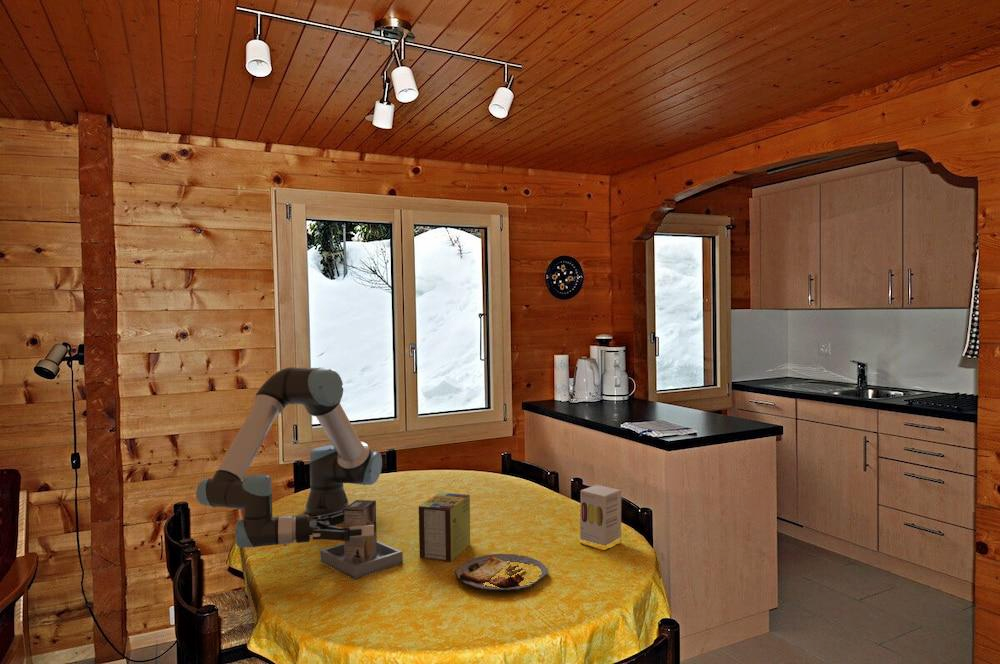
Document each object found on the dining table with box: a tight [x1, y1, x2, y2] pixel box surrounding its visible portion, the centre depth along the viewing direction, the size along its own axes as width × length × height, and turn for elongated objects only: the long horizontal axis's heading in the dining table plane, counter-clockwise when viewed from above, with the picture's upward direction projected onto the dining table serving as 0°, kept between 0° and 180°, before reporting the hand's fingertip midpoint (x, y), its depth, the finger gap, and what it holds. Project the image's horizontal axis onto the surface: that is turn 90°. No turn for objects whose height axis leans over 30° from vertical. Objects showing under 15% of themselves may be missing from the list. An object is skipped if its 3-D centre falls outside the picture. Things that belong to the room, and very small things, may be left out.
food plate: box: [454, 553, 549, 592], centre depth 180 cm, size 25×23×4 cm
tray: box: [319, 540, 404, 580], centre depth 191 cm, size 16×18×4 cm
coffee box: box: [343, 499, 378, 565], centre depth 191 cm, size 9×6×16 cm
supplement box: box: [579, 484, 622, 546], centre depth 204 cm, size 10×9×17 cm
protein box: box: [418, 491, 471, 562], centre depth 200 cm, size 10×15×16 cm
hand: (372, 522), depth 191 cm, fingers open, 13 cm apart
